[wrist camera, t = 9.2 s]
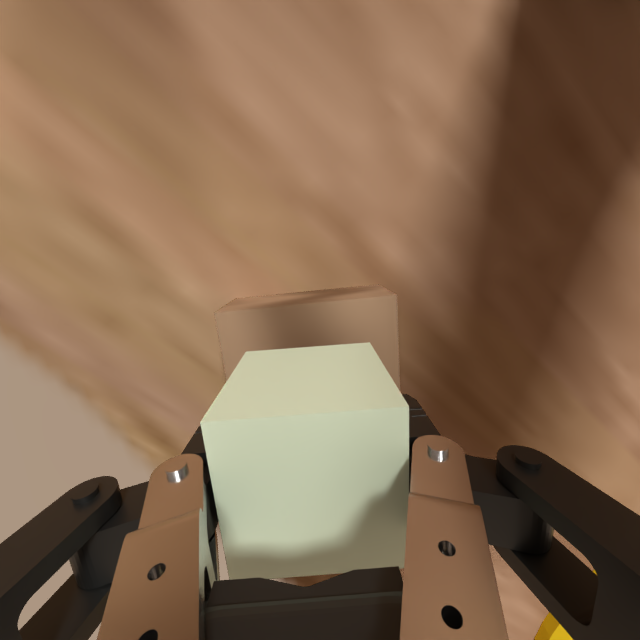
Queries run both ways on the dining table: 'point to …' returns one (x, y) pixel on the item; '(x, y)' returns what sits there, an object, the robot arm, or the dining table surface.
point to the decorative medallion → (552, 629)
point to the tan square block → (311, 323)
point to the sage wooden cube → (309, 463)
